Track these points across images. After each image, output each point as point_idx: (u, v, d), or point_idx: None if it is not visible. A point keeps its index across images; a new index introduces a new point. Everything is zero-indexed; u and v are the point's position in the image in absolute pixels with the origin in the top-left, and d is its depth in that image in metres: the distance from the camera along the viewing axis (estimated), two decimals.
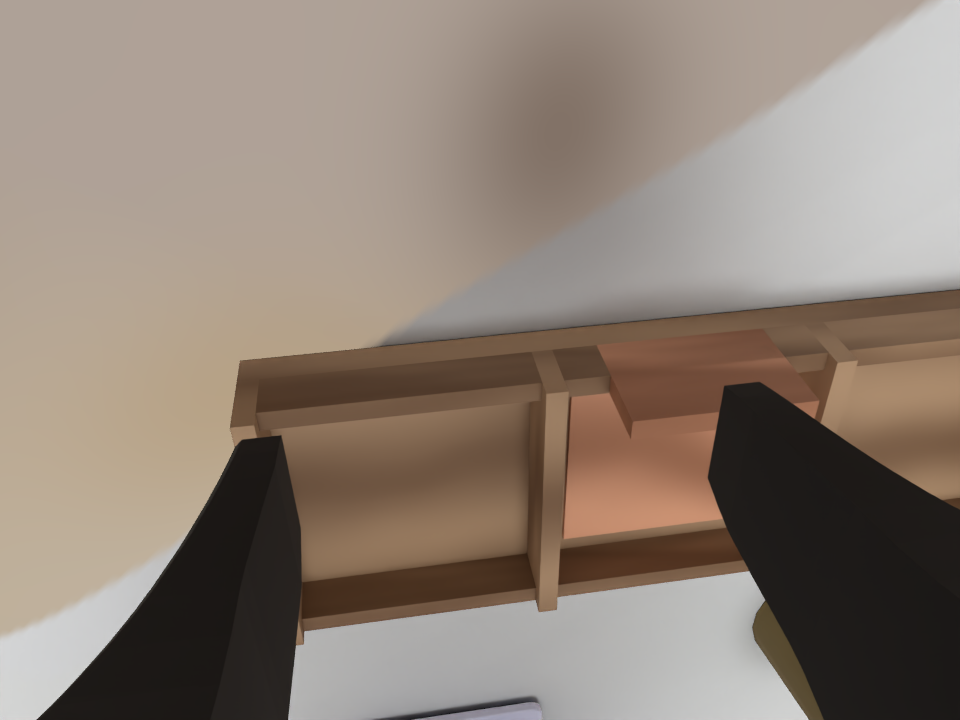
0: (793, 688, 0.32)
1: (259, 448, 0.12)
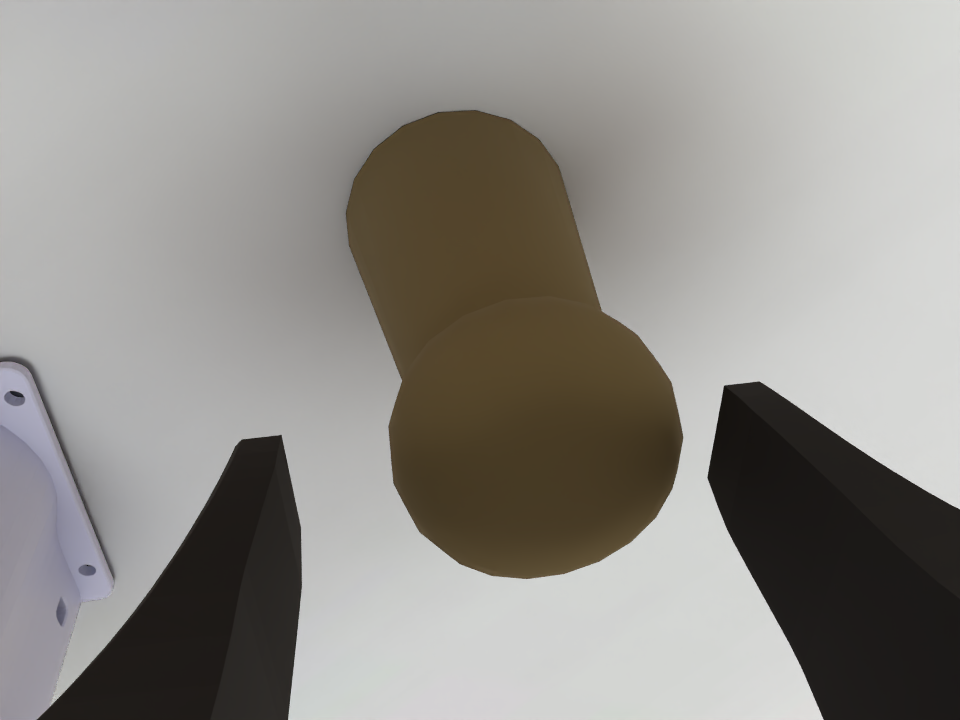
0: (370, 297, 0.20)
1: (259, 448, 0.12)
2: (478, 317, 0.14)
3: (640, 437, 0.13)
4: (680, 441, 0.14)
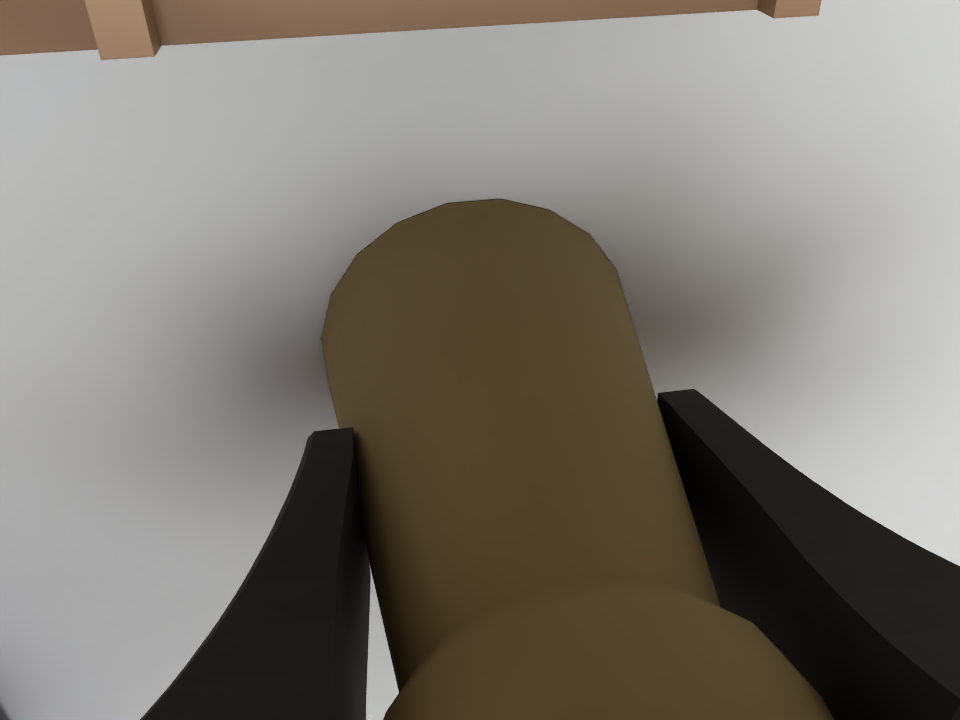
0: None
1: (333, 439, 0.12)
2: (510, 650, 0.08)
3: None
4: None
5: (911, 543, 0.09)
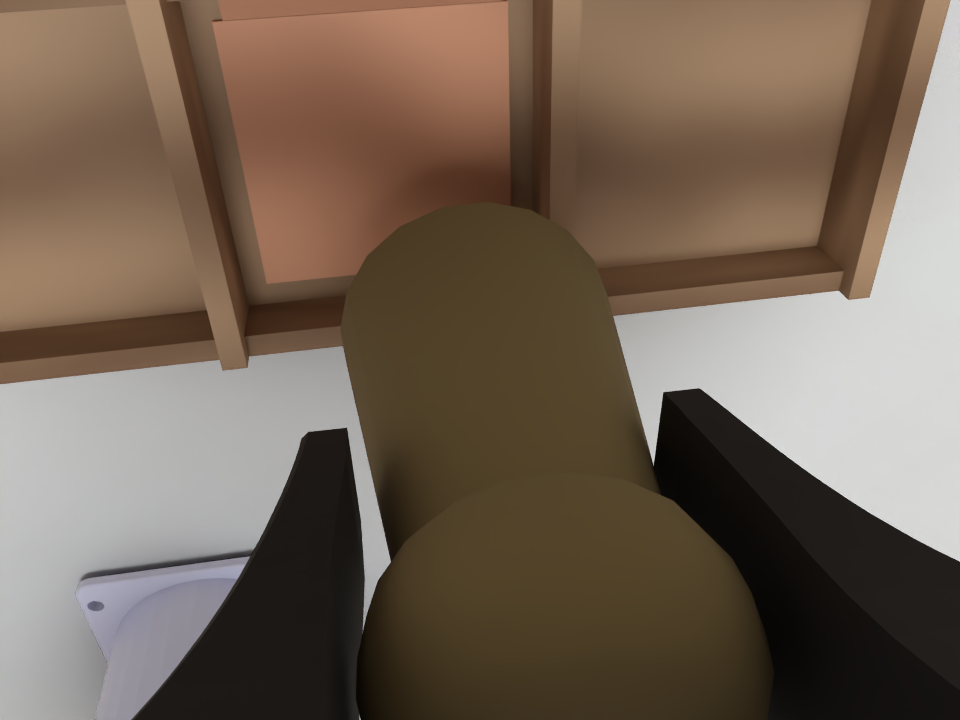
0: (364, 439, 0.16)
1: (327, 439, 0.12)
2: (468, 512, 0.10)
3: (710, 697, 0.09)
4: (770, 682, 0.10)
5: (918, 542, 0.09)
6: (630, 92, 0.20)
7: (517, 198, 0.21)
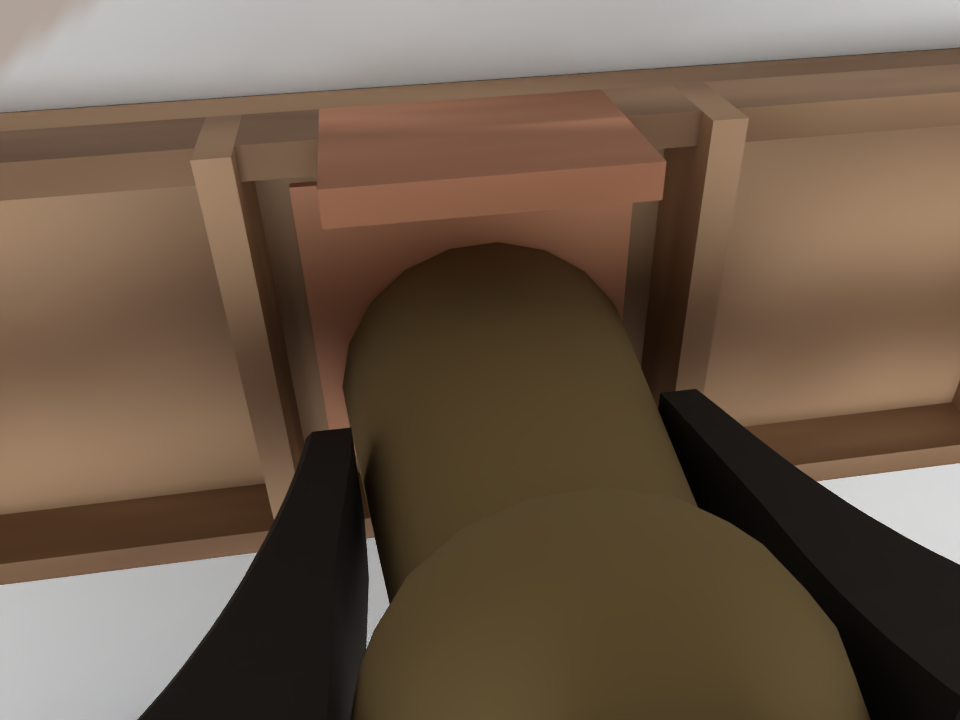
0: None
1: (332, 439, 0.12)
2: (482, 533, 0.08)
3: None
4: None
5: (913, 543, 0.09)
6: (764, 251, 0.17)
7: None
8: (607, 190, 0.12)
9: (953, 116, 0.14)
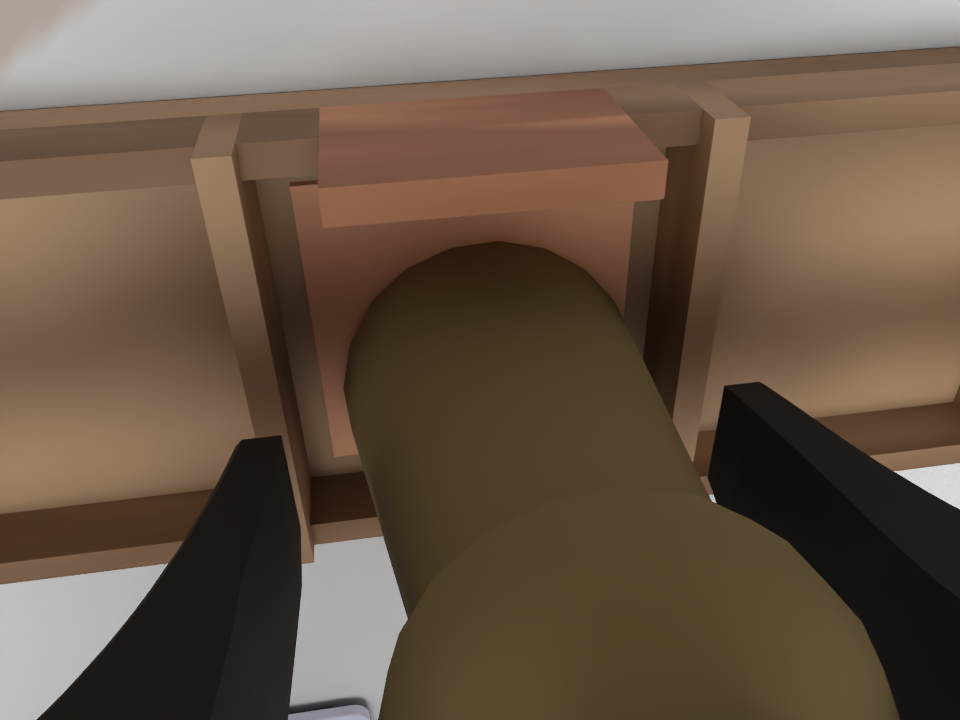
0: (373, 499, 0.14)
1: (259, 448, 0.12)
2: (510, 534, 0.08)
3: None
4: None
5: None
6: (765, 250, 0.17)
7: None
8: (609, 189, 0.12)
9: (956, 115, 0.14)
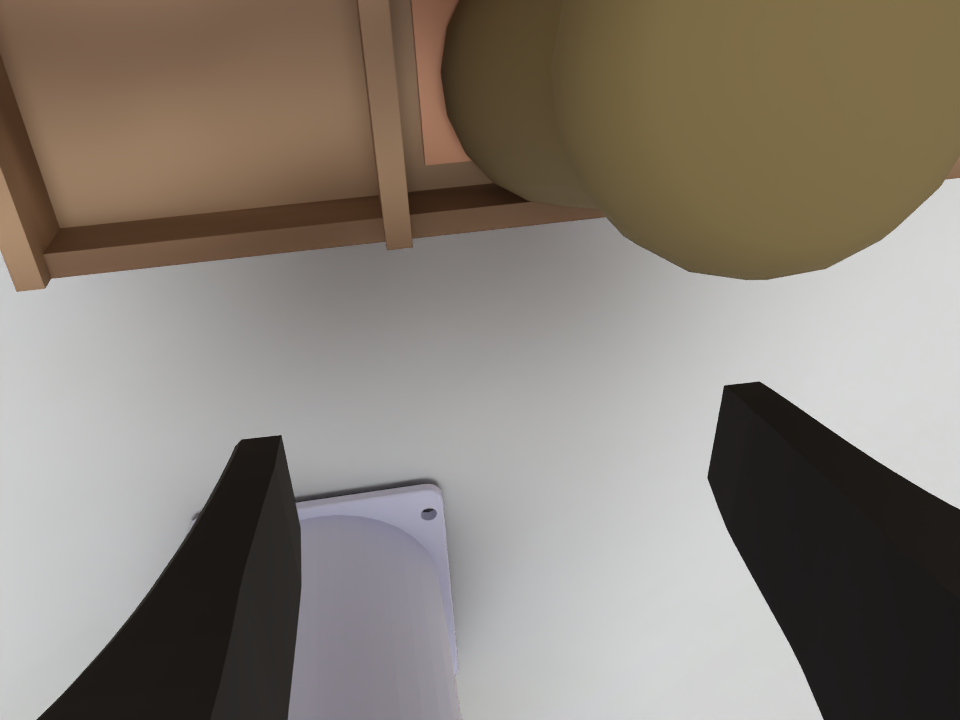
0: (483, 116, 0.16)
1: (259, 448, 0.12)
2: None
3: None
4: None
5: None
6: None
7: None
8: None
9: None
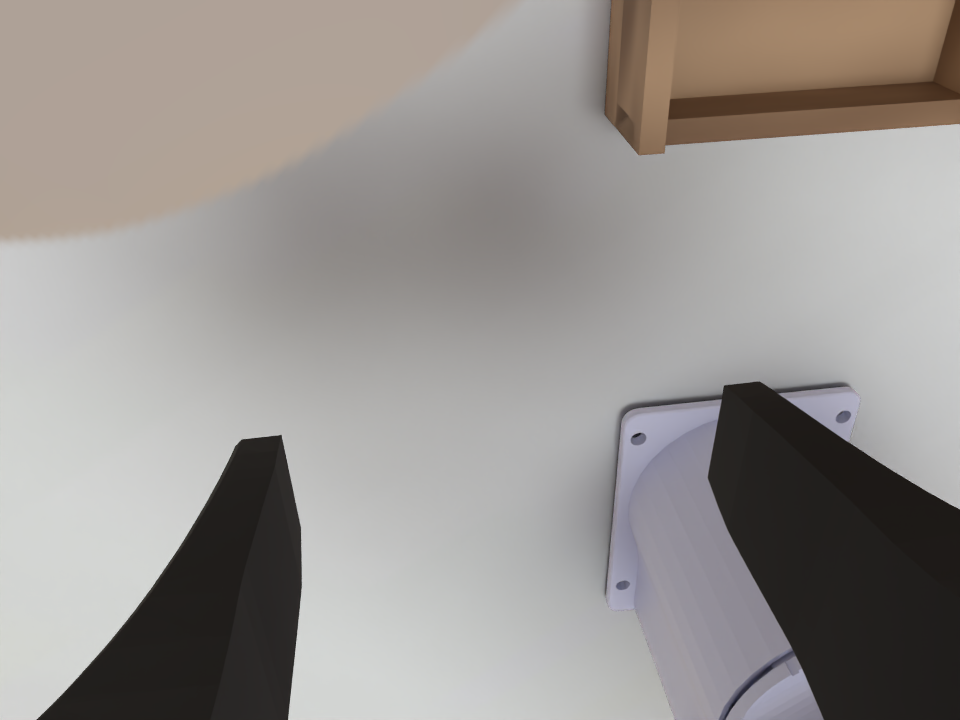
0: None
1: (259, 448, 0.12)
2: None
3: None
4: None
5: None
6: None
7: None
8: None
9: None
